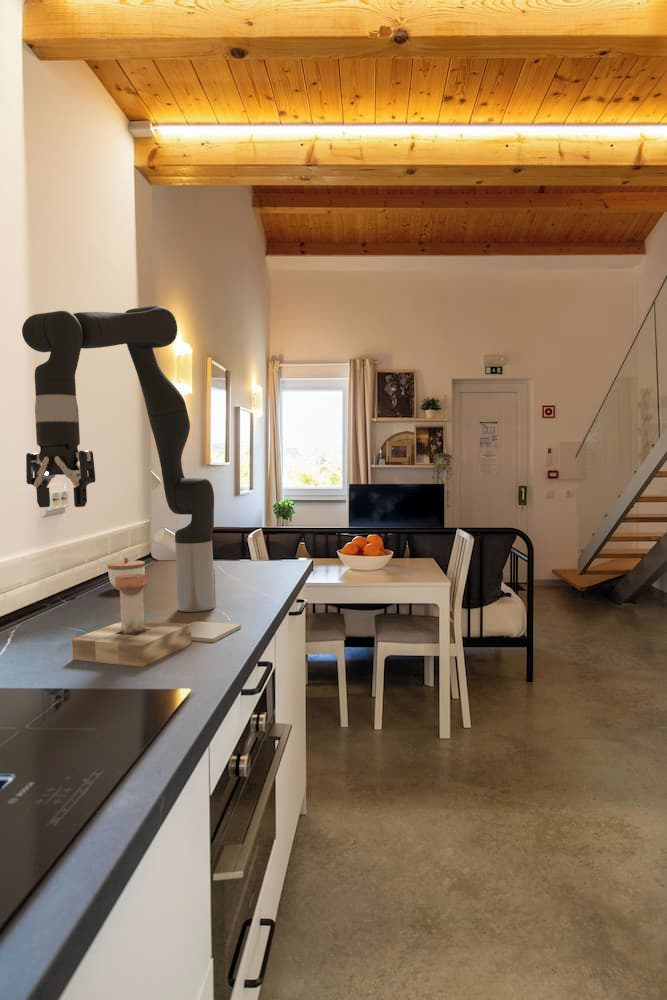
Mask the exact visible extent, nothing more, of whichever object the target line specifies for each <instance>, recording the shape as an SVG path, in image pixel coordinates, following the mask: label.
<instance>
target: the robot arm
mask: <svg viewBox="0 0 667 1000" xmlns="http://www.w3.org/2000/svg"><path fill="white" fill-rule="evenodd" d="M21 333H22V334H21V335H22V337H23V340H24V342H25V343H26V345H27V346H28V347H30V348H31V349H33V350H34V351H36V352H40V353H49V357H48V359H47V360H46V361H45V362H43V363H41V364H39V365H37V366H36V367H35V370H34V390H35V391H34V392H35V403H34V415H35V417H34V418H35V435H36V436H35V437H36V445H37V446H39V447H40V451H39V452H27V453H26V455H25V457H26V459H25V460H26V461H25V462H26V463H25V464H26V467H25V468H26V469H25V471H26V472H25V473H26V474H25V477H26V484H27V485H32V486H34V487H35V489H36V490H35V491H36V501H37V504H38V507H39V508H49V507H50V506H51V495H50V487H49V485H50V483H51V481H52V479H54V478H55V477H56V476H57V475H60V476H62V475H63V476H65V477H66V478H68V479H69V480H70V481H71V483H72V484H73V486H74V487H73V501H74V502H73V503H74V507H75V508H84V507H86V504H87V502H88V494H87V493H88V492H87V486H88V485H90V484H93V483H95V482H96V472H95V461H94V460H95V459H94V451H92V450H79V449H78V448H79V447H78V446H80V444H81V438H80V437H81V436H80V435H81V434H80V417H79V416H80V415H79V406H78V402H77V387H76V386H77V385H76V384H77V383H76V372H77V368H78V364H79V359H80V355H81V351H82V349H87V350H88V349H100V348H107V347H108V348H109V347H113V346H120V345H126V346H127V349H128V352H129V355H130V357H131V360H132V362H133V366H134V369H135V372H136V374H137V379H138V381H139V384H140V388H141V392H142V396H143V400H144V403H145V407H146V413H147V416H148V420H149V424H150V428H151V431H152V435H153V438H154V442H155V445H156V446H155V447H156V450H157V454H158V458H159V463H160V468H161V469H160V470H161V476H162V483H163V489H164V490H163V491H164V494H165V500H166V503H167V505H168V508H169V509H170V511H171V512H172V513H173V514H176V515H186V516H188V515H189V516H190V515H191V518H190V519H191V520H190V523H188V525H187V526H184V527H183V528H179V529H177V530H176V531H175V533H174V544H175V546H174V547H175V548H174V549H175V568H176V570H175V571H176V592H177V593H176V594H177V596H176V597H177V610H178V611H180V612H185V613H194V612H195V613H196V612H197V613H199V612H204V611H209V610H212V609H214V608H215V607H216V605H217V600H216V573H215V571H216V570H215V568H214V555H213V554H214V552H213V531H214V527H215V522H214V521H215V517H214V516H215V494H214V493H215V492H214V488H213V487H214V486H213V485H212V483H211V482H210V480H209V479H207V478H204V477H192V478H191V477H188V478H186V477H185V475H184V471H183V465H182V463H183V462H182V457H183V453H184V449H185V446H186V443H187V441H188V438H189V434H190V432H191V431H190V430H191V424H190V423H191V422H190V417H189V413H188V410H187V404H186V401H185V399H184V396H183V395H182V394H181V392H180V391H179V390H178V388H177V387H176V386H175V385H174V384H173V382H171V380H170V379H169V378H168V377H167V376H166V374H165V373H164V372H163V371H162V369H161V367H160V365H159V363H158V361H157V358H156V355H155V353H154V349H157V348H164V347H167V346H170V345H171V344H172V343H173V342H174V341H175V340H176V339H177V335H178V325H177V320H176V317H175V315H174V314H173V313H172V311H171V310H170V309H168V308H166V307H164V306H161V305H151V306H144V307H136V308H130V309H127V310H126V311H125V312H106V311H105V312H104V311H100V312H99V311H81V312H80V311H79V312H74V313H72V312H70V311H68V310H57V311H49V312H42V313H35V314H33V315H30V316H29V317H27V319H25V321H24V322H23V325H22V328H21ZM78 462H79V464H78Z"/></svg>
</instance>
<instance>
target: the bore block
mask: <svg viewBox="0 0 667 1000" xmlns="http://www.w3.org/2000/svg"><path fill="white" fill-rule="evenodd" d="M191 644H192V641H191V624H190V623H178V622H166V621H165V622H162V621H150V620H145V632H144V633H142V634H139V635H137V636H134V635H122V627H121V621H118V622H116V623H113V624H110V625H107V626H105V627H101V628H99V629H97V630H93V631H91V632H89V633H84V634H82V635H79V636H77V637H75V638H74V637H73V638H71V645H72V646H71V647H72V660H73V661H81V662H89V663H101V664H111V665H120V666H131V667H132V666H133V667H139V668H144V667H146V666H148V665H150V664H152V663H154V662H157V661H158V660H161V659H163V658H165V657H166V656H168V655H171V654H173V653H175V652H177V651H179V650H181V649H183V648H185V647H187V646H189V645H191Z"/></svg>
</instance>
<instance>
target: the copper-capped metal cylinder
mask: <svg viewBox="0 0 667 1000" xmlns="http://www.w3.org/2000/svg"><path fill="white" fill-rule="evenodd" d="M146 587H148V575H147V574H146V573H145V574H126V575H120V576H116V577H115V587H114V588H115V589H116V590H117V589H120V590H119V601H120V622H121V627H122V635H134V636H137V635H139V634H142V633H144V632H145V621H146V620H145V602H144V601H145V599H144V588H146Z"/></svg>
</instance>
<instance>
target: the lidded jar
mask: <svg viewBox="0 0 667 1000" xmlns="http://www.w3.org/2000/svg"><path fill="white" fill-rule="evenodd" d="M123 559H124V560H121V561H115V562H110V563H108V564H107V571H108V572H107V573H108V578H109V582H110V583H111V585H112V586H113V587H114V588H115V577H116V576H120V575H126V574H146V573H145V570H146V569H145V568H146V567H145V565H146V562H145V561H143V560H129V558H128V557H124V558H123ZM116 590H117V591H120V589H116Z"/></svg>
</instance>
